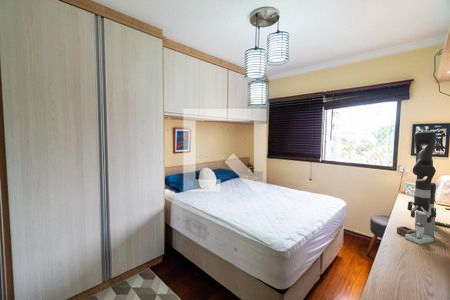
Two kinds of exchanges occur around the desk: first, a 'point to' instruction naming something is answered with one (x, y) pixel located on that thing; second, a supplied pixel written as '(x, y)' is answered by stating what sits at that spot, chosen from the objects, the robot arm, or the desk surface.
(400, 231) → the block
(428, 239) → the tray
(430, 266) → the desk surface
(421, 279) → the desk surface
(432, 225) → the skincare box
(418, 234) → the pin
